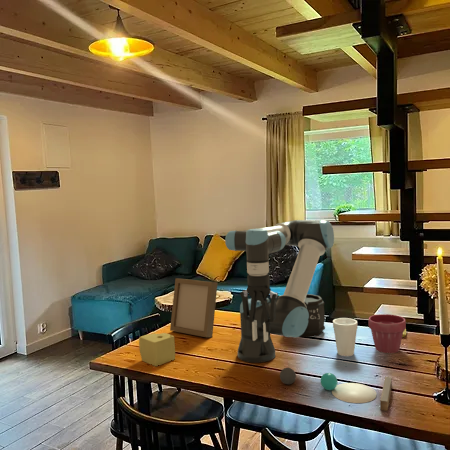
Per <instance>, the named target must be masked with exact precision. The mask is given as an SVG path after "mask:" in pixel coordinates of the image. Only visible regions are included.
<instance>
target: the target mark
mask: <svg viewBox="0 0 450 450" xmlns="http://www.w3.org/2000/svg"><path fill="white" fill-rule="evenodd" d="M331 393H332V396H333V397H334V398H336V399H337V400H340V401H342V402H345V403H350V404H352V403H353V404H364V403H365V404H366V403H370V402H371V401H373V400H375V399H376V398H377V395H378V394H377V391H376V390H375V389H374V388H372V387H370V386H368V385H365V384H362V383H356V382H346V383H345V382H344V383H339V384H337V386H336V388H335V389H333V390H331Z"/></svg>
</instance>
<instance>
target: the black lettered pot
mask: <svg viewBox="0 0 450 450" xmlns="http://www.w3.org/2000/svg"><path fill="white" fill-rule="evenodd" d="M304 303H305V305H306V307H307V308H306V309H307V310H308V313H309V318H308V325H307V328H306V330H305V331H304V333H303V334H302V335H301V336H299V337H298V338H301V337H302V338H312V337H319V336H320V335H321V334H323V333H324V330H326V327H325V318H326V317H325V302H324V300H323V298H322V297H321V296H320V295H316V294H310V293H307V296H306V299H305V302H304Z"/></svg>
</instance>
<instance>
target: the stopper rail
mask: <svg viewBox="0 0 450 450" xmlns="http://www.w3.org/2000/svg"><path fill="white" fill-rule="evenodd" d="M392 379H393V378H392V376H385V378H384V380H383V385H382V391H381V396H380V401H379V403H380V404H379V405H380V407H379V408H380V411H385V412H388V410H389V405H390V398H391V394H392V393H391V392H392V386H393V385H392V384H393V383H392V382H393V381H392Z"/></svg>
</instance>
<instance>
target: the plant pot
mask: <svg viewBox="0 0 450 450" xmlns="http://www.w3.org/2000/svg"><path fill="white" fill-rule="evenodd" d="M406 325H407V324H406V318H404V317H403V316H400V315H397V314H389V313H388V314H386V313H381V314H379V313H378V314H373V315H371V316H368V329H370V330H371V336H372V339H373V340H372V341H373V344H374V348H375V350H376V351H377V352H378V353H379V352H380V353H383V354H396V353H399V352H400V348H401V344H402V339H403V337H402V335H403V331H404V330H405V329H406V328H407V327H406ZM406 330H407V329H406Z"/></svg>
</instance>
